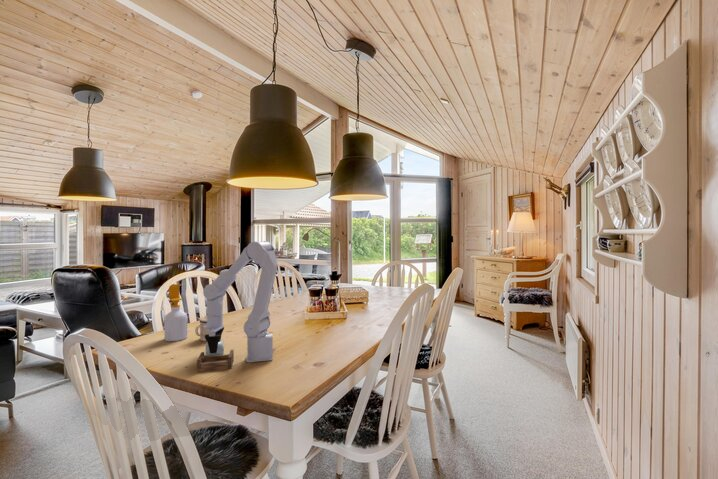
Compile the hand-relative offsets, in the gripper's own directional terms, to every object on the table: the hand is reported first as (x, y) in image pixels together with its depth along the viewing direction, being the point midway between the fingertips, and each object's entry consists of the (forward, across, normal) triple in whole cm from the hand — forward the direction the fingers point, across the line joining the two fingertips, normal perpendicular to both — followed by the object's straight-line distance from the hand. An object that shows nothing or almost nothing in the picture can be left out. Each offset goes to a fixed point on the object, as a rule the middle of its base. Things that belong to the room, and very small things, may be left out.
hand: (214, 349), depth 133 cm
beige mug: (+2, -22, -6) cm, 23 cm away
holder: (+2, +12, +2) cm, 12 cm away
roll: (+2, 0, 0) cm, 2 cm away
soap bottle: (+2, -27, -20) cm, 34 cm away
